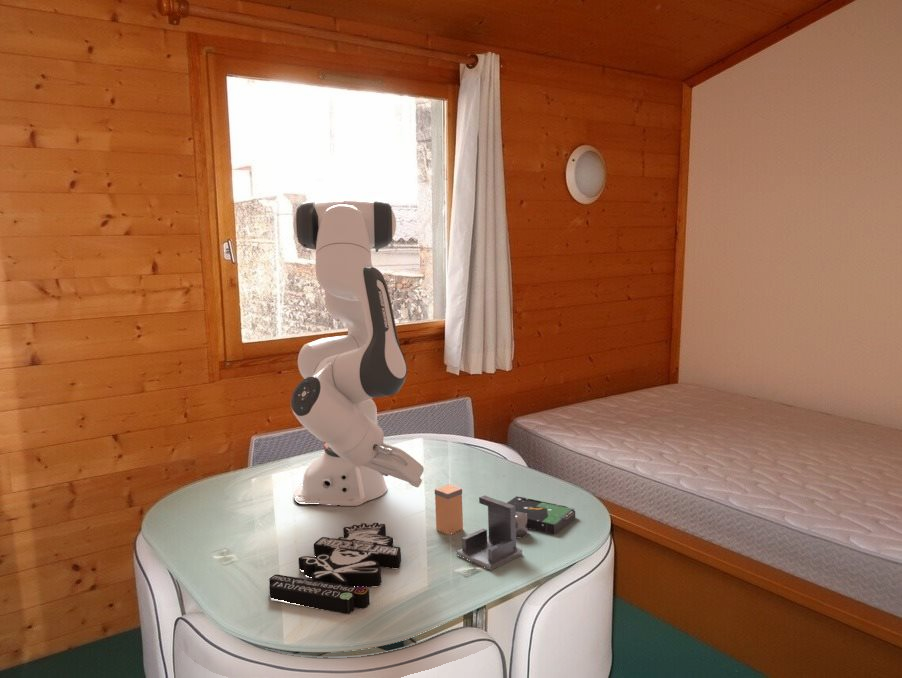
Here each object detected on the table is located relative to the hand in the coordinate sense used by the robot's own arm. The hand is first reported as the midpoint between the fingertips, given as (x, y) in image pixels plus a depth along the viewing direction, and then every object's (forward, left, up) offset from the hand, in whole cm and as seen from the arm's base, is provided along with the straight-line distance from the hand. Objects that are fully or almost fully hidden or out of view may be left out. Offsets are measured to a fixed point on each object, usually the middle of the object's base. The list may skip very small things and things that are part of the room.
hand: (402, 477), depth 140 cm
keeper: (+16, -5, -15) cm, 23 cm away
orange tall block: (+9, +8, -15) cm, 19 cm away
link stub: (+23, +4, -15) cm, 28 cm away
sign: (-11, -7, -15) cm, 20 cm away
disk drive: (+28, +11, -16) cm, 34 cm away
